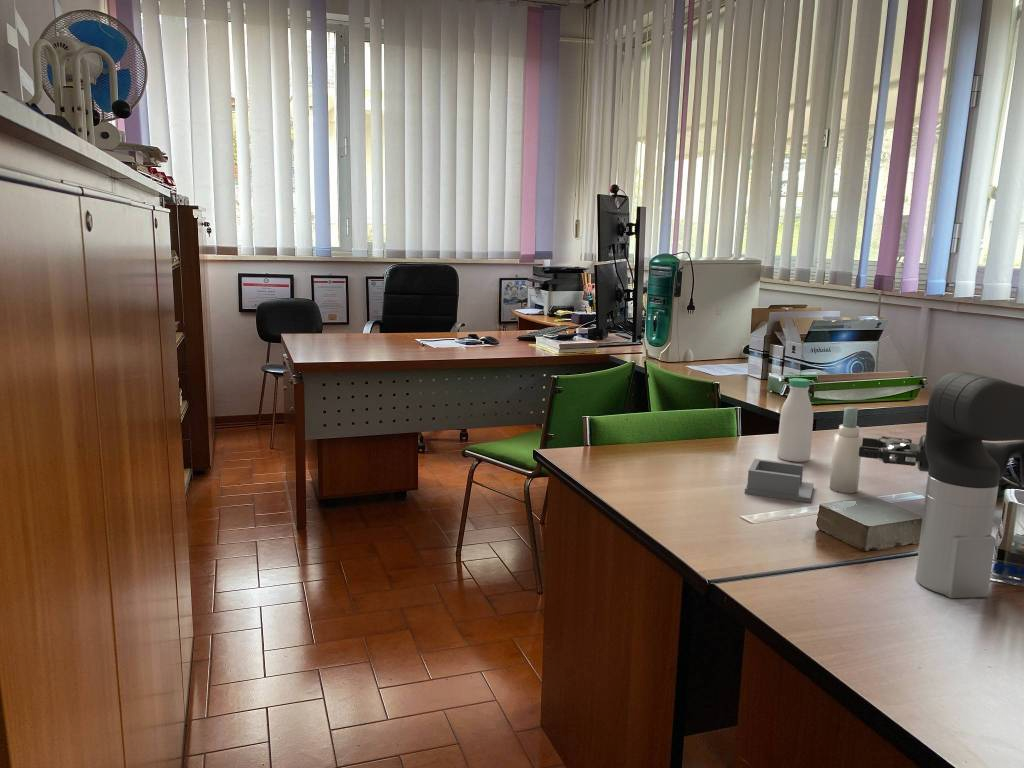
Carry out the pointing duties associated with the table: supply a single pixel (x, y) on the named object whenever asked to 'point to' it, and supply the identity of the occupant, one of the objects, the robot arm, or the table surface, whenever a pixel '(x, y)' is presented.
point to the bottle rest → (778, 481)
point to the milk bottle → (796, 423)
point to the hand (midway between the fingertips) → (858, 446)
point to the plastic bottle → (846, 454)
